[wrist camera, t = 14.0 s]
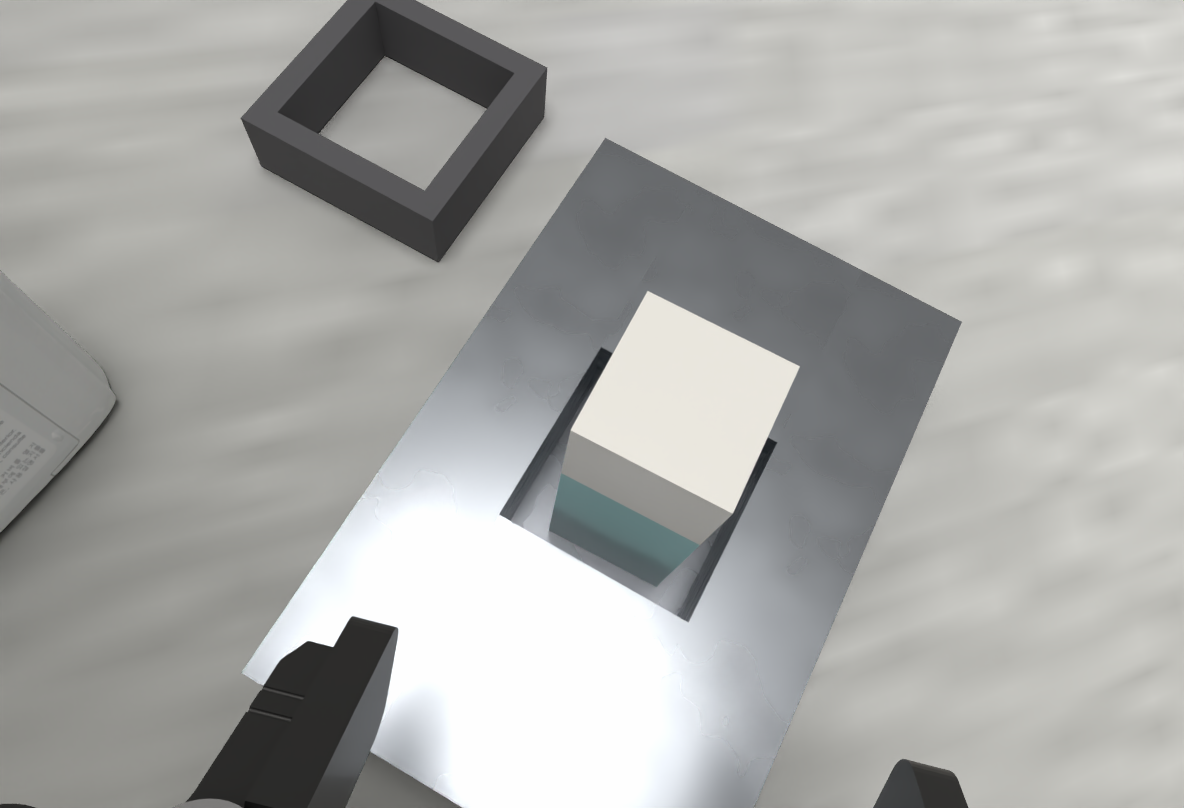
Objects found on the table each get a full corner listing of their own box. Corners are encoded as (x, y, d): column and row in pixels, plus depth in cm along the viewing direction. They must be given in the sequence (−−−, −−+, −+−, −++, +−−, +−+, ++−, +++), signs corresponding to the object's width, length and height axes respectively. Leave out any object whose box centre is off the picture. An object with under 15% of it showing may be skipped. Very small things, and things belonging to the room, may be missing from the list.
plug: (548, 530, 25) (570, 429, 17) (602, 430, 26) (647, 290, 18) (656, 586, 25) (732, 514, 17) (705, 483, 26) (799, 366, 18)
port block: (282, 682, 24) (241, 672, 20) (593, 211, 30) (605, 138, 27) (662, 913, 23) (694, 948, 19) (903, 374, 29) (961, 321, 26)
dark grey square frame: (261, 166, 30) (240, 118, 27) (378, 30, 32) (368, -24, 30) (438, 262, 29) (432, 221, 27) (543, 116, 32) (547, 67, 29)
